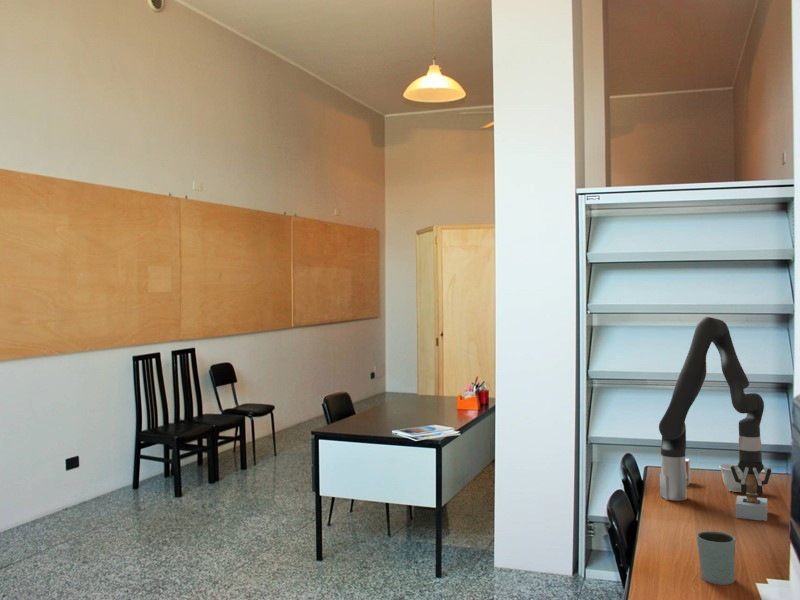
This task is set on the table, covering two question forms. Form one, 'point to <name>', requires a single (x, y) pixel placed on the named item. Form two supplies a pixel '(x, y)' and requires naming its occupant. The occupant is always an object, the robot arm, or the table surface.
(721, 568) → the grey-green cup
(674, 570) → the table surface
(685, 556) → the table surface
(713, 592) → the table surface
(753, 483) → the walnut peg
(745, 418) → the robot arm
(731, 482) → the teacup
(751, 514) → the hole block
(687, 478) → the small box
